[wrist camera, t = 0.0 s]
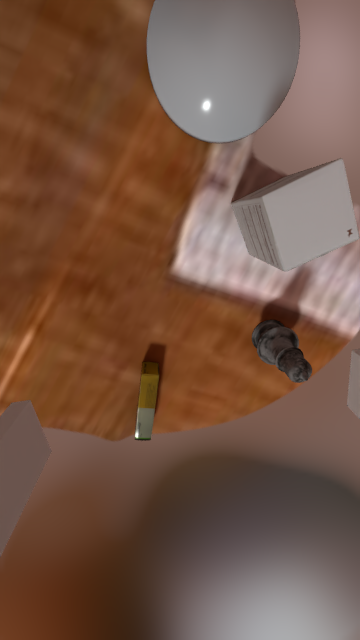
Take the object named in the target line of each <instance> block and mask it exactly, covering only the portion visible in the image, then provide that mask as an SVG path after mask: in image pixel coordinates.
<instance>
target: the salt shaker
mask: <svg viewBox="0 0 360 640" xmlns="http://www.w3.org/2000/svg"><path fill="white" fill-rule="evenodd" d="M252 342H253V344H254V346H255V347H256V348H257V353H258V355H259V357H260V358H261V359H262V361H264V362H265V363H268V364H271V365H276V366H277V368H278V369H279V370H281V371H283V372H285V373H286V375H287V376H288V377H289V378H290V380H292V381H293V382H298V383H300V382H304V381H307V380H308V378H309V377H310V376H311V373H312V368H311V365H310V364H309V363H308V362H307V361H306V360H305V359H304V356H303V353H302V351H301V350H300V349H299V348H298V346H299V340H298V337H297V335H296V334H295V332H294V331H292V330H291V329H289V328H286V327H284V325H283V324H282V323H280V322H279V321H276V320H266V321H264V322H261V323H260V324H259V325H257V327H256V328H255V329H254V331H253V334H252Z"/></svg>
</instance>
